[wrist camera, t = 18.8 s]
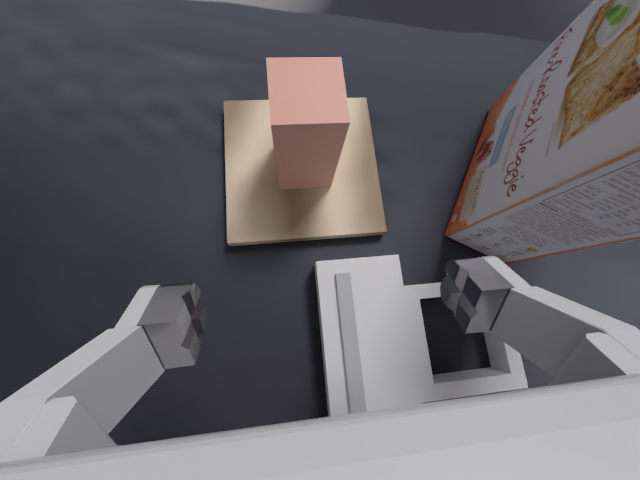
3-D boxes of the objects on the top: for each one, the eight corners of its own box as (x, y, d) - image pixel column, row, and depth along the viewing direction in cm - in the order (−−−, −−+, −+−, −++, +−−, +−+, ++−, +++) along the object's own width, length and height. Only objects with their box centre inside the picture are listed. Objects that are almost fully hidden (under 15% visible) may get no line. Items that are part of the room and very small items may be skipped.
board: (363, 105, 25) (366, 97, 24) (382, 234, 22) (386, 231, 21) (226, 109, 24) (223, 100, 23) (230, 246, 21) (227, 243, 20)
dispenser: (477, 251, 23) (497, 245, 21) (513, 413, 20) (541, 426, 18) (314, 265, 21) (316, 260, 19) (330, 440, 19) (335, 459, 17)
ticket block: (325, 141, 23) (341, 57, 15) (330, 186, 22) (350, 122, 14) (276, 143, 22) (266, 57, 15) (279, 189, 21) (270, 125, 14)
